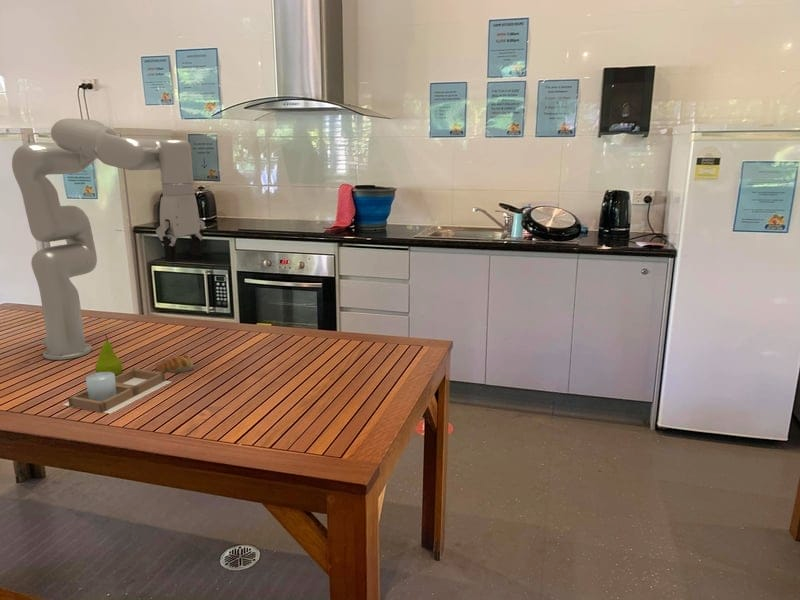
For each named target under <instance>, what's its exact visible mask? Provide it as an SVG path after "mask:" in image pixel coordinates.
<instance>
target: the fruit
mask: <svg viewBox="0 0 800 600" xmlns="http://www.w3.org/2000/svg"><path fill="white" fill-rule="evenodd" d="M104 336H105V338H106V340H105V341H104V342H103V344H102V347H101V348H100V350H99V355H98V357H97V361H96V364H95V367H94V369H95V373H99V372H112V373H114V374H115V376H118V375H120V374H122V373H123V372H122V371H123V363H122V361H121V359H120V358H119V356H118V355H116V353H115V351H114V349H113V346H112V343H111V342H110V341H109V339H108V336H107V334H106V333H104Z"/></svg>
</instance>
